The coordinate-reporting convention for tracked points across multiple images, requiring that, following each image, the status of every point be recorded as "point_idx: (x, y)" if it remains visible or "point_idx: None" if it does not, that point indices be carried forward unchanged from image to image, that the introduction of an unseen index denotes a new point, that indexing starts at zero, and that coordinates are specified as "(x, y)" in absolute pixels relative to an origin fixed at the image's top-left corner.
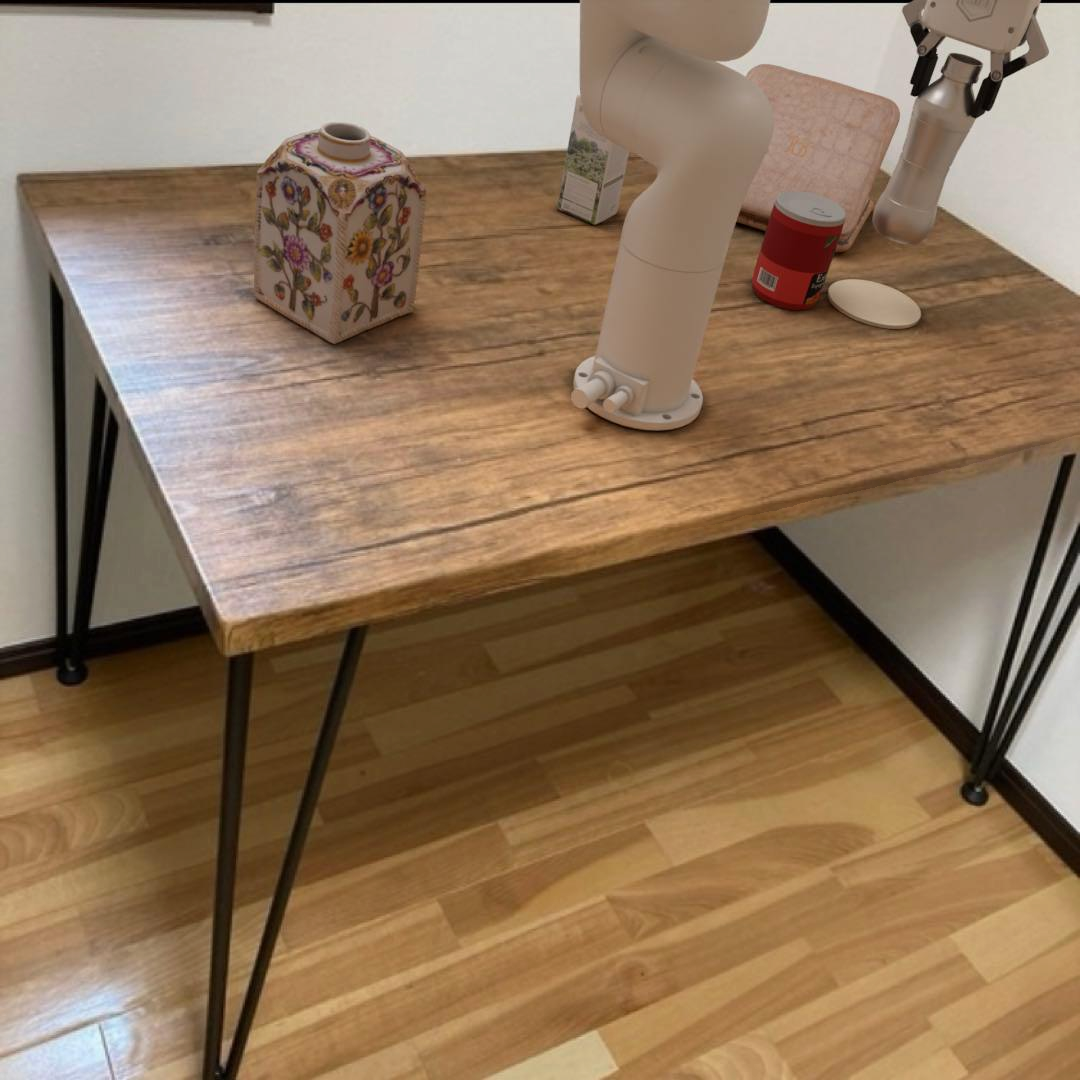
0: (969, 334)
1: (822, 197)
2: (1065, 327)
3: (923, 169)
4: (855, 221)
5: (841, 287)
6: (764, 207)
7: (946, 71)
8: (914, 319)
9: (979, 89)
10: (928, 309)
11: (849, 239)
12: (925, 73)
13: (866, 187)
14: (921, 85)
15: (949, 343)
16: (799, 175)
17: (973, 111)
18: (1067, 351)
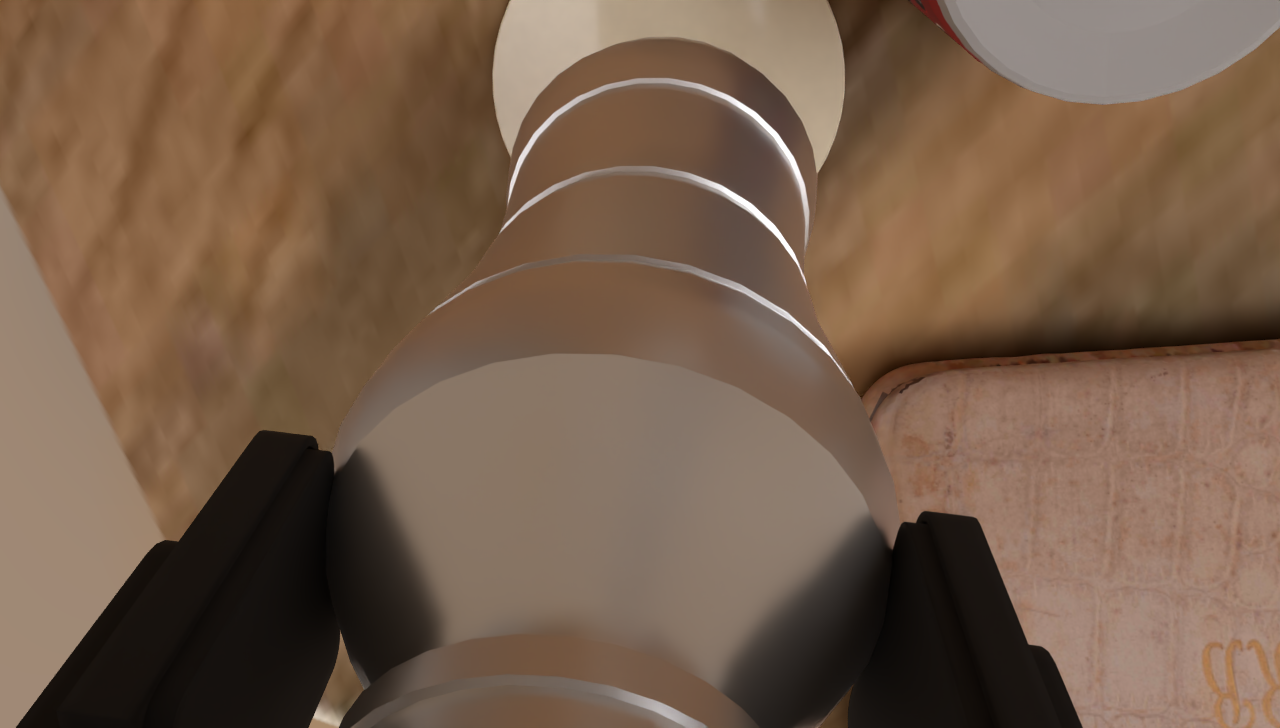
0: (327, 143)
1: (1095, 91)
2: (133, 435)
3: (609, 164)
4: None
5: (804, 108)
6: (1227, 378)
7: (701, 723)
8: (504, 65)
9: (222, 619)
10: (500, 220)
11: None
12: (946, 702)
13: None
14: (916, 612)
15: (351, 10)
16: (1174, 561)
17: (288, 458)
18: (56, 280)
